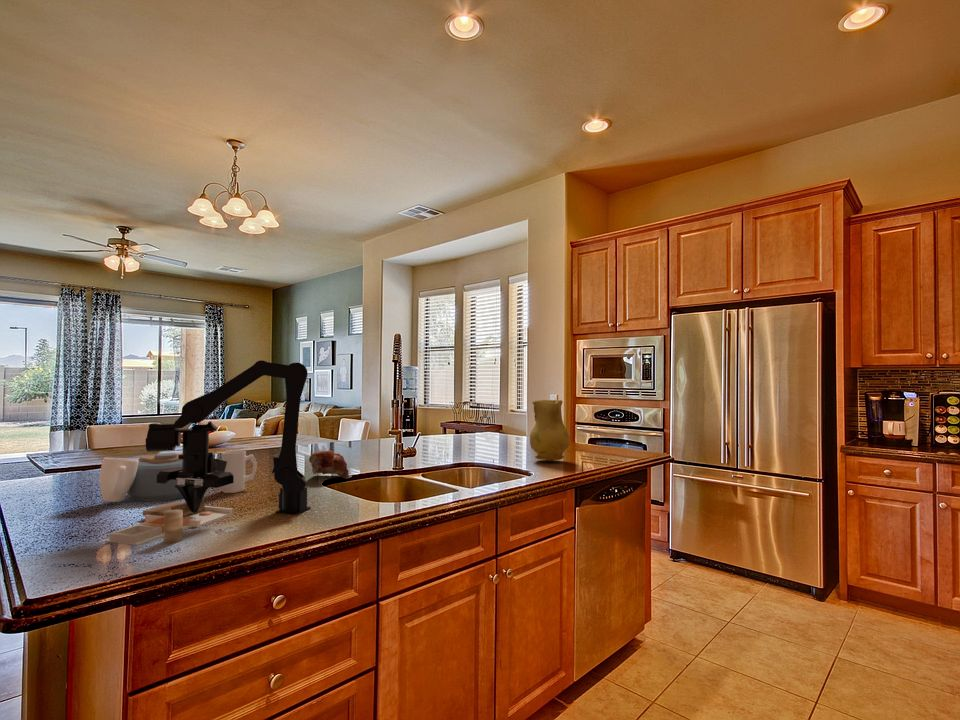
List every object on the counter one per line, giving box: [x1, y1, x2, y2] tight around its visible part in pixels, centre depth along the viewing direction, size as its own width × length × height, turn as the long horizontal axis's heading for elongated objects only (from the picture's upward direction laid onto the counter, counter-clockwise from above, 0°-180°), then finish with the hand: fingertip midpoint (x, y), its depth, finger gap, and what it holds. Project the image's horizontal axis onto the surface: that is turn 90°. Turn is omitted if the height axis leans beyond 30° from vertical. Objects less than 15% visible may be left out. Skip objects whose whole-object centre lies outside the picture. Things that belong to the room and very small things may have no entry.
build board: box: [104, 516, 194, 546], centre depth 113 cm, size 9×14×2 cm, turn 164°
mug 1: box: [98, 457, 139, 503], centre depth 138 cm, size 12×8×11 cm
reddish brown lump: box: [308, 449, 353, 480], centre depth 176 cm, size 16×13×10 cm
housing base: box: [144, 505, 234, 528], centre depth 126 cm, size 16×11×2 cm
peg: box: [163, 509, 183, 544], centre depth 109 cm, size 3×3×7 cm
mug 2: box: [221, 449, 258, 494], centre depth 157 cm, size 10×7×12 cm, turn 119°
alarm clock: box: [126, 452, 199, 502], centre depth 152 cm, size 19×20×12 cm
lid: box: [142, 498, 206, 517], centre depth 127 cm, size 10×9×3 cm
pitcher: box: [529, 399, 570, 461], centre depth 219 cm, size 17×19×25 cm
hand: (194, 512), depth 126 cm, fingers closed
